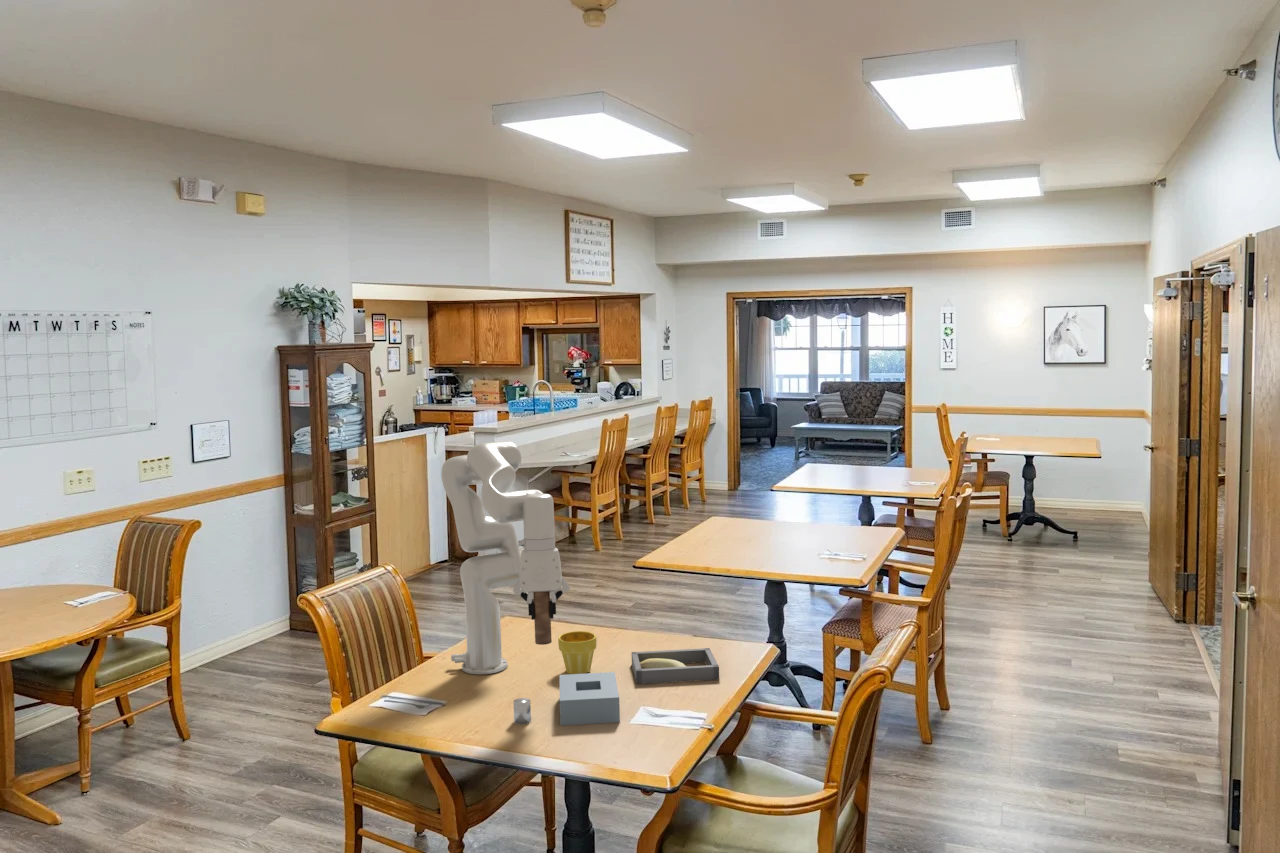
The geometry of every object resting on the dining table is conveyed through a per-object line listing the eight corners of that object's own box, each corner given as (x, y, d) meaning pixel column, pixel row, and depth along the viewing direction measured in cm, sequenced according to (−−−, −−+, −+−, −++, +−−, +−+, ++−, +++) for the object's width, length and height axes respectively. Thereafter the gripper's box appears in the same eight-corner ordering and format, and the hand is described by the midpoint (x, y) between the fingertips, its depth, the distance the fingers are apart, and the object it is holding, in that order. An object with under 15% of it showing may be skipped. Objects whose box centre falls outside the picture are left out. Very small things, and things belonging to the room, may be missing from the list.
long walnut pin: (534, 645, 232) (532, 584, 231) (535, 640, 236) (533, 580, 235) (551, 644, 232) (549, 583, 231) (551, 639, 236) (549, 580, 235)
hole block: (560, 725, 223) (559, 700, 223) (560, 698, 241) (559, 674, 240) (619, 722, 224) (619, 697, 224) (615, 694, 242) (614, 671, 242)
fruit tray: (636, 684, 250) (636, 671, 249) (631, 664, 265) (631, 652, 265) (719, 679, 251) (719, 666, 251) (709, 660, 267) (709, 648, 267)
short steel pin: (513, 725, 224) (513, 704, 224) (514, 718, 228) (513, 698, 228) (530, 724, 224) (530, 703, 224) (531, 717, 228) (530, 697, 228)
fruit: (654, 664, 266) (654, 653, 266) (697, 675, 256) (696, 663, 256) (637, 671, 261) (637, 660, 260) (680, 683, 251) (680, 671, 251)
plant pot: (583, 679, 254) (582, 643, 253) (552, 674, 259) (550, 639, 259) (604, 668, 263) (603, 633, 262) (573, 662, 268) (572, 628, 268)
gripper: (504, 548, 228) (507, 623, 230) (573, 545, 229) (576, 620, 231) (506, 543, 236) (509, 615, 237) (573, 540, 237) (576, 612, 238)
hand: (542, 617), depth 234 cm, fingers closed on long walnut pin, 4 cm apart
